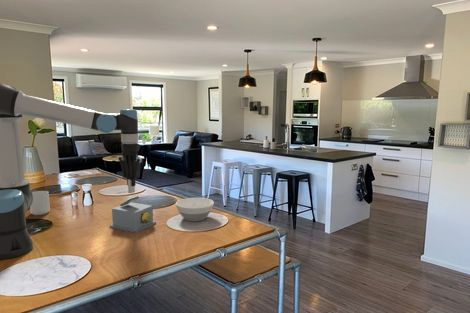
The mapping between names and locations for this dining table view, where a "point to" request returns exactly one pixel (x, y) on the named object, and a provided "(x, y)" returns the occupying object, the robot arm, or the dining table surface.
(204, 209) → the bowl
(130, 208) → the block
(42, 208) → the mug
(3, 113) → the robot arm
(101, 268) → the dining table surface
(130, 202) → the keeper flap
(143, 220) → the pin
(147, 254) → the dining table surface
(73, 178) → the dining table surface
